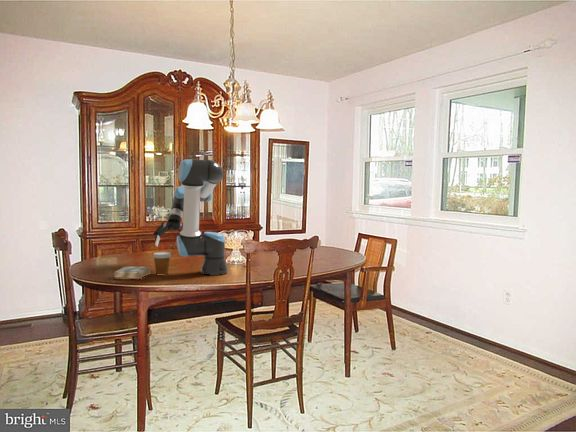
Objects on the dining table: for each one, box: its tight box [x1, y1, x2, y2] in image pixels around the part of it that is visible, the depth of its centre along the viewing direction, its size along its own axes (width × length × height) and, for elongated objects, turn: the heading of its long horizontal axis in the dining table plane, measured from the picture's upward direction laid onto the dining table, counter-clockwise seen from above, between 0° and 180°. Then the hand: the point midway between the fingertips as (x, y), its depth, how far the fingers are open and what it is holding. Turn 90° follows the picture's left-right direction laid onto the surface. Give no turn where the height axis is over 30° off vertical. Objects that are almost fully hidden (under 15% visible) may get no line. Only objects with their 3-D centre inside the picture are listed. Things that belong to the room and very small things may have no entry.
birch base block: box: [113, 265, 151, 278], centre depth 233 cm, size 14×14×4 cm
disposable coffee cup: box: [152, 251, 172, 274], centre depth 239 cm, size 10×10×12 cm
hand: (167, 245), depth 248 cm, fingers open, 13 cm apart
